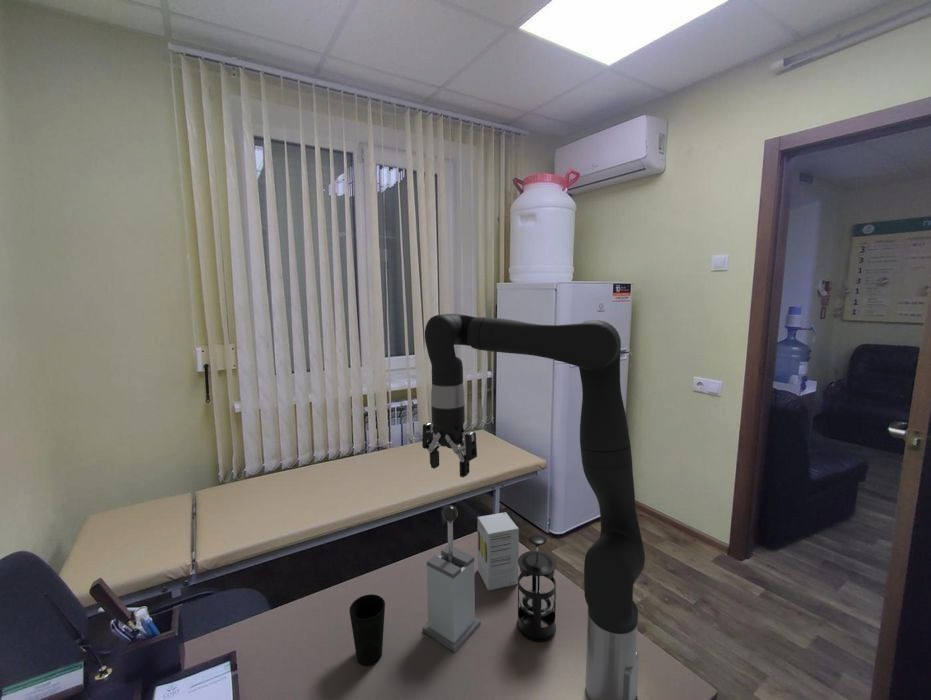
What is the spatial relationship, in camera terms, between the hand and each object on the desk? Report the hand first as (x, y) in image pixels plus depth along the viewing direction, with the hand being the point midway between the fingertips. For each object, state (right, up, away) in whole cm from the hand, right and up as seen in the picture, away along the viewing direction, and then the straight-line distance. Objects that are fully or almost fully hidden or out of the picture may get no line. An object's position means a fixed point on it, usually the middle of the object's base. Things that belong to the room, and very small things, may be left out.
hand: (449, 471), depth 94 cm
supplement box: (+13, -37, +23) cm, 46 cm away
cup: (-18, -41, -2) cm, 44 cm away
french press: (+21, -39, +6) cm, 45 cm away
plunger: (0, -25, +3) cm, 25 cm away
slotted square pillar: (0, -39, +5) cm, 40 cm away
